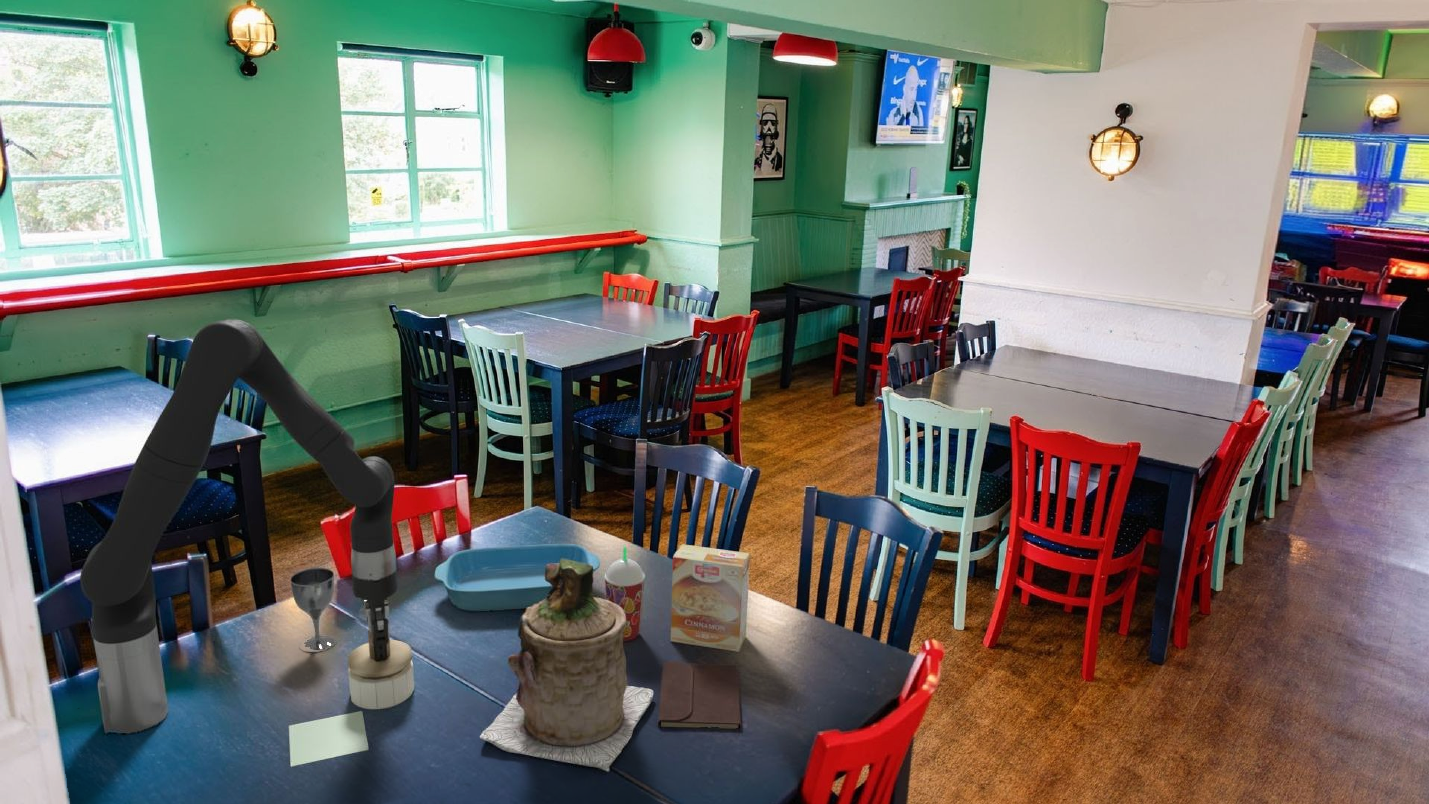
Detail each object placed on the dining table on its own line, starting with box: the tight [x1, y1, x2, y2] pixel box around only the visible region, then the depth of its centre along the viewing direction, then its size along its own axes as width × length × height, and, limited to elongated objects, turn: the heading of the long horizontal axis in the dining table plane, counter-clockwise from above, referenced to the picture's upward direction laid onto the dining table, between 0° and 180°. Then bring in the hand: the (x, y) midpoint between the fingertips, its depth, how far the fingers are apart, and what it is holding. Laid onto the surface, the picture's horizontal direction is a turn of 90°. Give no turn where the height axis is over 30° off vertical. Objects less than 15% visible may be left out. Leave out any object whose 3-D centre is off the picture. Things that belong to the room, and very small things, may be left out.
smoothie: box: [604, 546, 646, 642], centre depth 197 cm, size 8×8×20 cm
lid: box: [347, 627, 413, 677], centre depth 173 cm, size 11×11×6 cm
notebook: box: [657, 660, 742, 729], centre depth 179 cm, size 15×20×2 cm
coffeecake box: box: [670, 543, 751, 653], centre depth 197 cm, size 15×7×20 cm, turn 76°
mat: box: [288, 710, 369, 768], centre depth 162 cm, size 12×12×1 cm
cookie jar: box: [479, 558, 654, 773], centre depth 165 cm, size 25×25×32 cm
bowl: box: [348, 658, 415, 710], centre depth 175 cm, size 11×11×6 cm
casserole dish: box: [434, 543, 601, 612], centre depth 216 cm, size 37×22×7 cm, turn 102°
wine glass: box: [290, 567, 338, 650], centre depth 190 cm, size 8×8×15 cm
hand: (379, 654), depth 173 cm, fingers closed on lid, 3 cm apart
